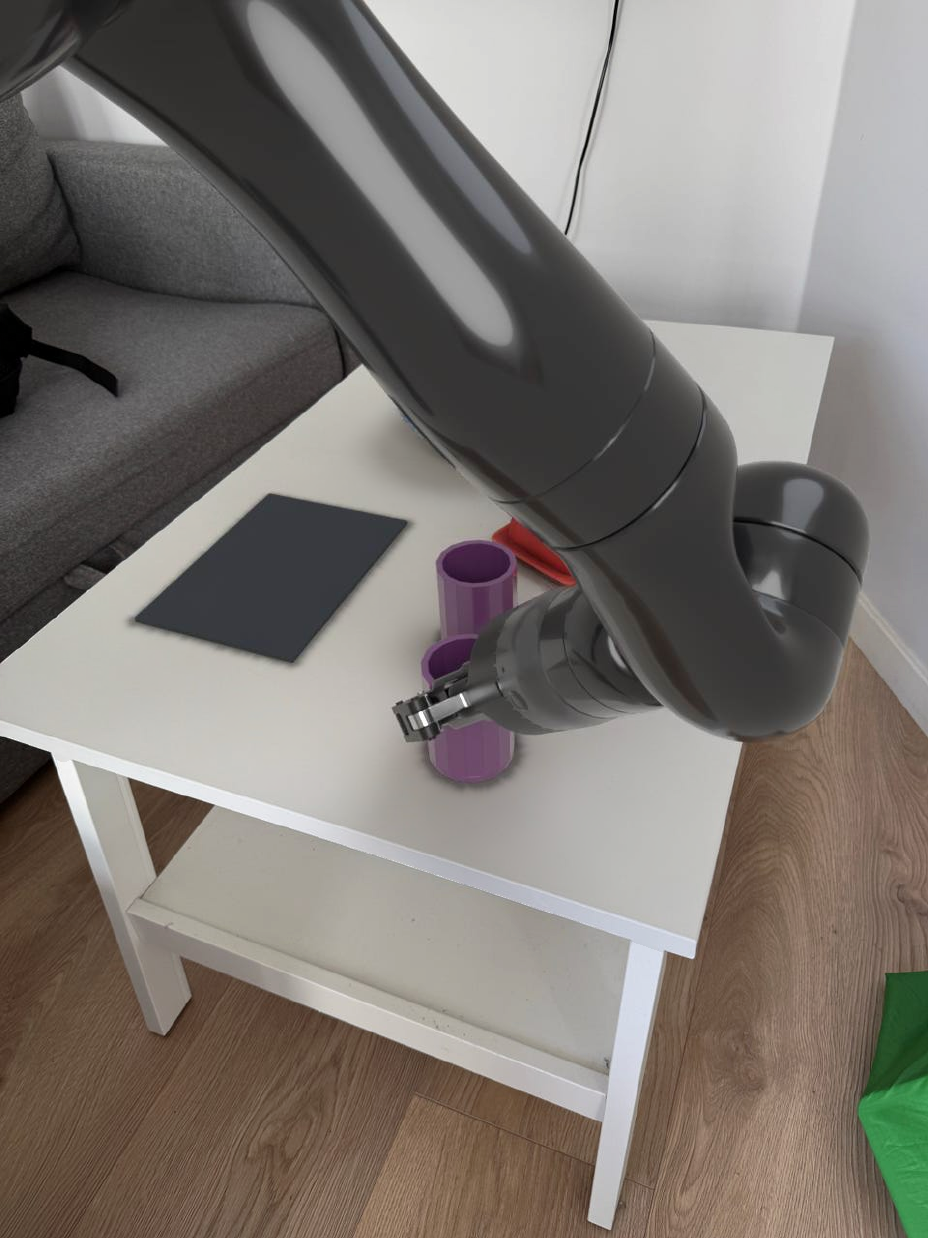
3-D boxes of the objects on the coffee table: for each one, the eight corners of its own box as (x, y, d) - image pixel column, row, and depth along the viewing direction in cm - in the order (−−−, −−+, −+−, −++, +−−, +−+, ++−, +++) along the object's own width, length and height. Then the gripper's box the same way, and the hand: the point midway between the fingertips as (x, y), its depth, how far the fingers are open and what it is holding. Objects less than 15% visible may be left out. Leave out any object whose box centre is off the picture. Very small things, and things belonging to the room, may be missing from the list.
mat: (292, 662, 75) (291, 659, 75) (135, 621, 80) (134, 617, 80) (407, 523, 91) (407, 520, 90) (269, 496, 96) (269, 492, 95)
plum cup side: (463, 680, 73) (458, 596, 67) (429, 637, 77) (422, 554, 72) (530, 655, 75) (531, 570, 69) (494, 614, 79) (492, 531, 74)
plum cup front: (452, 795, 63) (446, 707, 58) (415, 738, 68) (406, 652, 62) (529, 762, 66) (530, 675, 60) (488, 709, 70) (485, 623, 65)
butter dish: (657, 549, 85) (666, 469, 80) (572, 602, 80) (576, 519, 74) (568, 503, 92) (571, 426, 87) (484, 548, 87) (481, 470, 81)
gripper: (634, 554, 53) (517, 610, 68) (419, 647, 47) (344, 685, 62) (688, 673, 53) (558, 702, 68) (478, 781, 47) (388, 786, 62)
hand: (456, 694), depth 65 cm, fingers closed on plum cup front, 6 cm apart
